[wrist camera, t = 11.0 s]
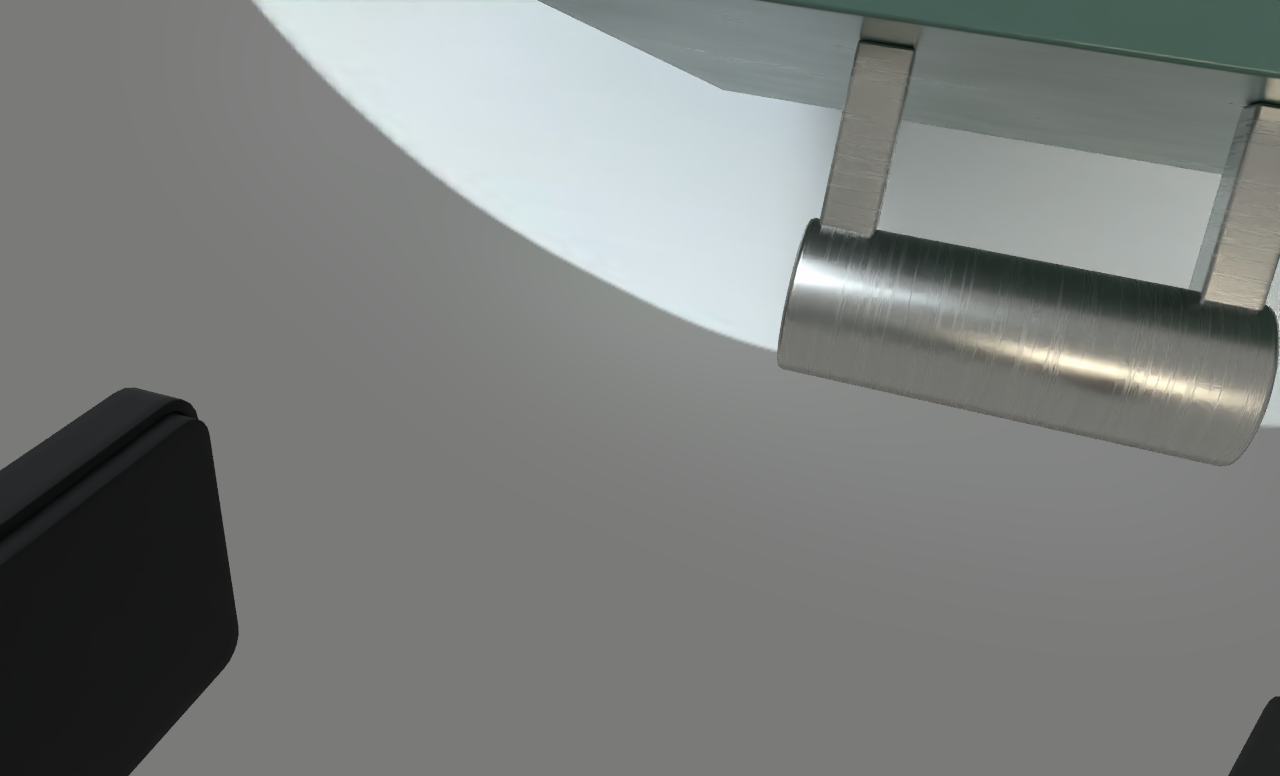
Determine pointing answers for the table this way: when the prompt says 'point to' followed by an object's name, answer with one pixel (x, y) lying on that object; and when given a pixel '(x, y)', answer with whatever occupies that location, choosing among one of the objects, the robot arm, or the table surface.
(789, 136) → the table surface
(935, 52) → the bin lid
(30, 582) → the robot arm
